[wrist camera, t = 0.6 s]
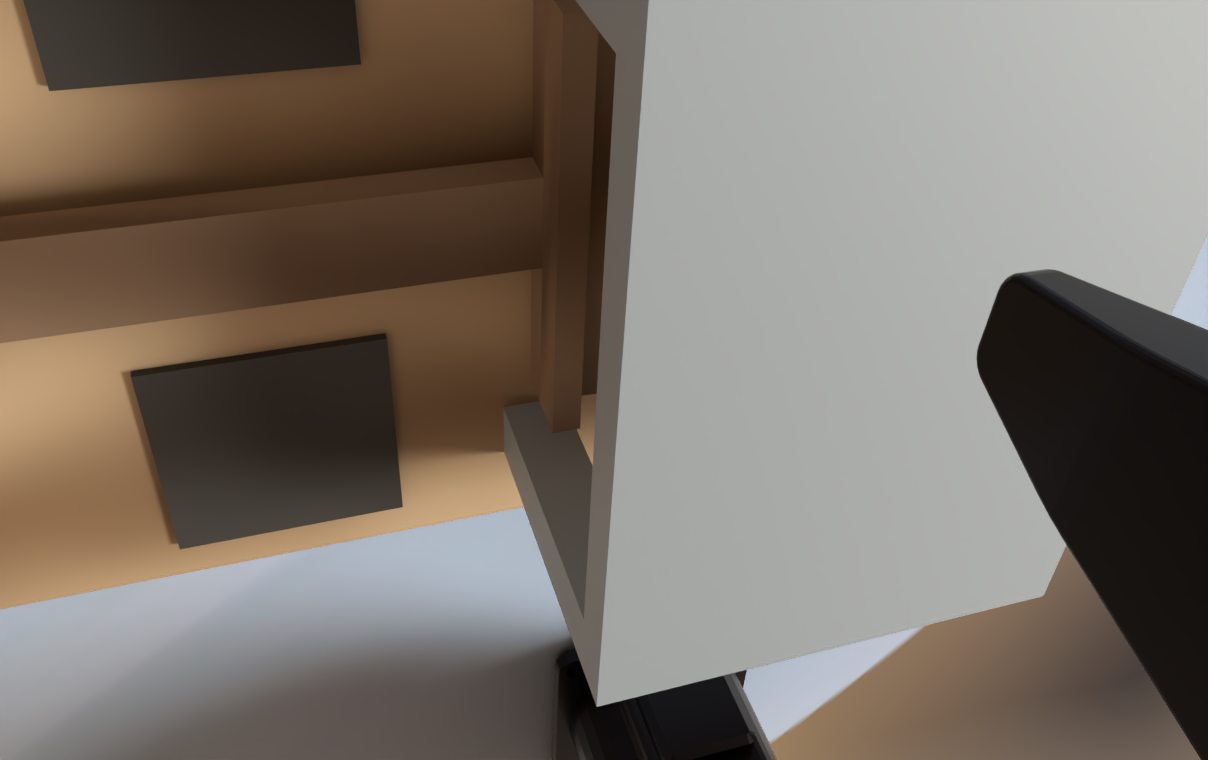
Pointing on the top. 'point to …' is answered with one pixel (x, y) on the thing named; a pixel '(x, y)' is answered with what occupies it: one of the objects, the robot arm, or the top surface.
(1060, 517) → the robot arm
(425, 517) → the base board
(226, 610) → the top surface
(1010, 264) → the grey small table
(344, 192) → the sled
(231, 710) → the top surface
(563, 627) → the top surface
